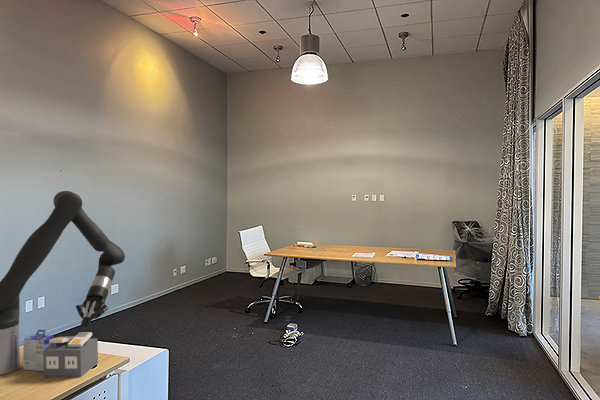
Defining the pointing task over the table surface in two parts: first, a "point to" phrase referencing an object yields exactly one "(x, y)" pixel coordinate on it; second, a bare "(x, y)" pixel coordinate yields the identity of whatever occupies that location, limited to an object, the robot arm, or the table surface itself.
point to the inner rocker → (61, 339)
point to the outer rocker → (80, 339)
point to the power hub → (70, 359)
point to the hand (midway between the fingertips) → (84, 327)
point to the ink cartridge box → (35, 350)
